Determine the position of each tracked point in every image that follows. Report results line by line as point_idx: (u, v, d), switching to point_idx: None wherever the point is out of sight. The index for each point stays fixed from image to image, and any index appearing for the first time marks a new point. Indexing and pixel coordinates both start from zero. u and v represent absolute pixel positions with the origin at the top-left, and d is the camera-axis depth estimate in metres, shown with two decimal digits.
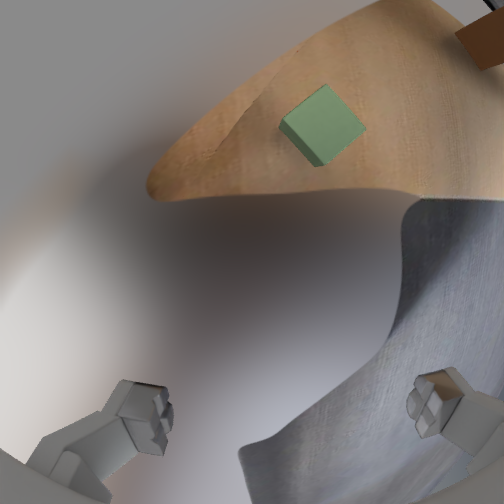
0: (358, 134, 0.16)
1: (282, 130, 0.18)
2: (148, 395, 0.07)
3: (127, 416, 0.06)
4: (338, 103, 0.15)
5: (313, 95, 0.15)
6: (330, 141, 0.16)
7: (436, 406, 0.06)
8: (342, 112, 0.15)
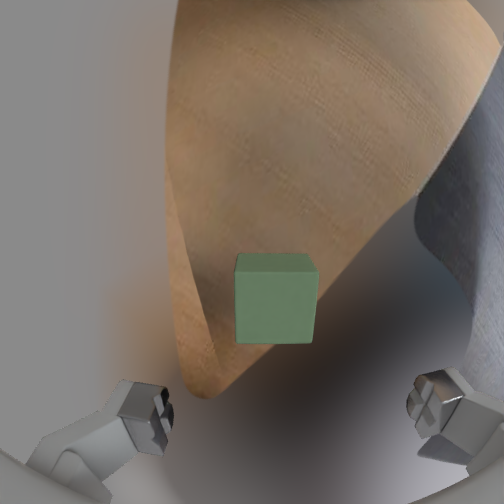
0: (316, 287, 0.13)
1: None
2: (148, 395, 0.07)
3: (127, 416, 0.06)
4: (266, 280, 0.13)
5: (236, 298, 0.13)
6: (296, 322, 0.14)
7: (437, 406, 0.06)
8: (279, 285, 0.13)
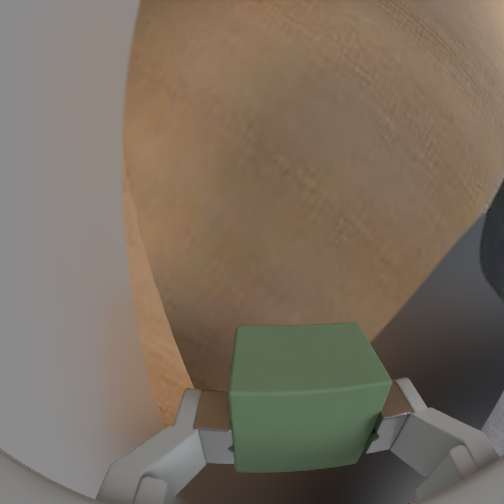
0: (382, 403, 0.06)
1: None
2: (221, 403, 0.07)
3: (205, 428, 0.06)
4: (294, 404, 0.06)
5: (235, 428, 0.06)
6: (338, 448, 0.06)
7: (381, 421, 0.06)
8: (318, 408, 0.06)
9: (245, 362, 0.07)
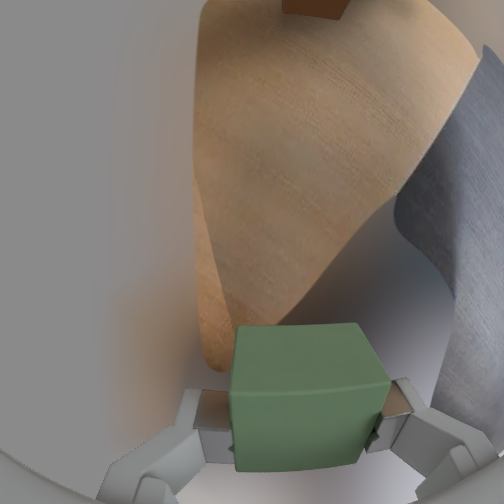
0: (381, 403, 0.06)
1: None
2: (221, 403, 0.07)
3: (205, 428, 0.06)
4: (294, 404, 0.06)
5: (235, 428, 0.06)
6: (338, 448, 0.06)
7: (380, 421, 0.06)
8: (318, 409, 0.06)
9: (245, 362, 0.07)
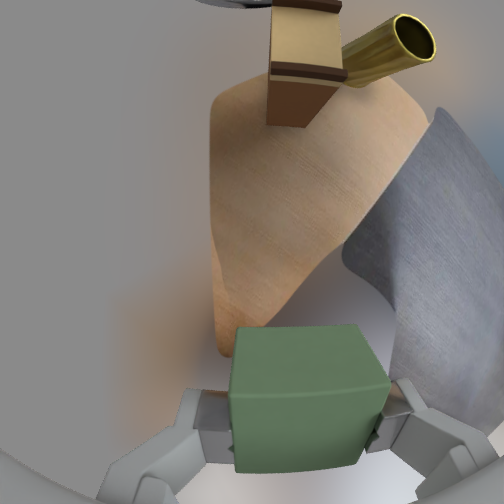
0: (381, 405, 0.06)
1: None
2: (221, 403, 0.07)
3: (205, 428, 0.06)
4: (294, 406, 0.06)
5: (235, 430, 0.06)
6: (338, 449, 0.06)
7: (380, 421, 0.06)
8: (318, 410, 0.06)
9: (245, 364, 0.07)
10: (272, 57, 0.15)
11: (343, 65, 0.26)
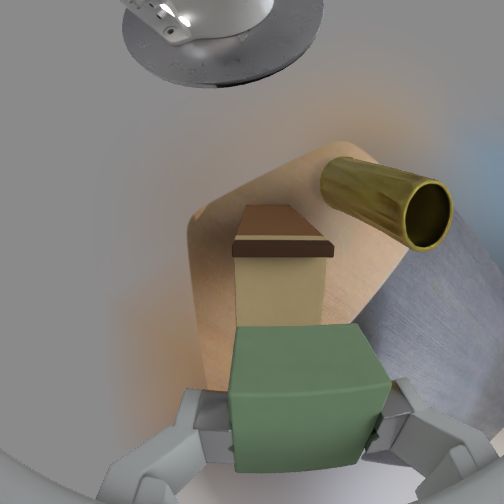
0: (381, 404, 0.06)
1: None
2: (221, 402, 0.07)
3: (205, 428, 0.06)
4: (293, 406, 0.06)
5: (235, 429, 0.06)
6: (337, 448, 0.06)
7: (381, 421, 0.06)
8: (318, 410, 0.06)
9: (245, 363, 0.07)
10: None
11: (334, 198, 0.26)
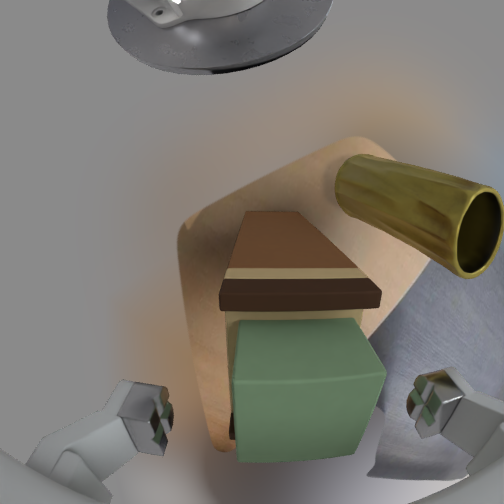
0: (377, 393, 0.06)
1: None
2: (148, 395, 0.07)
3: (127, 416, 0.06)
4: (294, 393, 0.06)
5: (238, 417, 0.06)
6: (336, 437, 0.07)
7: (437, 406, 0.06)
8: (317, 397, 0.06)
9: (247, 353, 0.07)
10: (232, 399, 0.10)
11: (353, 204, 0.21)
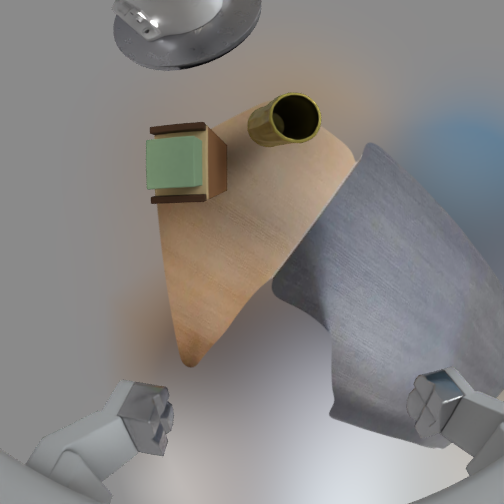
0: (192, 145, 0.20)
1: None
2: (148, 395, 0.07)
3: (127, 416, 0.06)
4: (163, 143, 0.20)
5: (147, 156, 0.20)
6: (182, 169, 0.20)
7: (437, 406, 0.06)
8: (170, 145, 0.20)
9: None
10: None
11: (253, 132, 0.35)
